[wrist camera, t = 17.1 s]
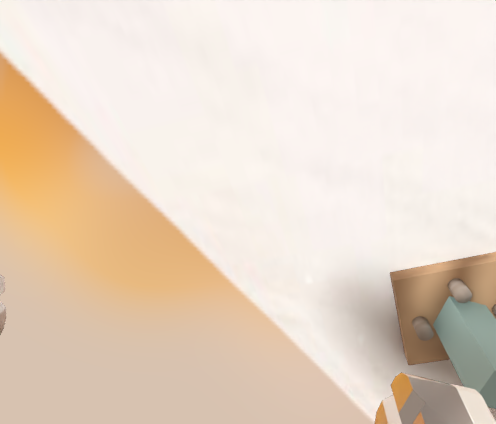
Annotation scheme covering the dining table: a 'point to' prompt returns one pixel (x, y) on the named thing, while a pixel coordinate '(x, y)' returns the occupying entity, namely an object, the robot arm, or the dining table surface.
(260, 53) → the dining table surface
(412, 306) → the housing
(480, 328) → the block
